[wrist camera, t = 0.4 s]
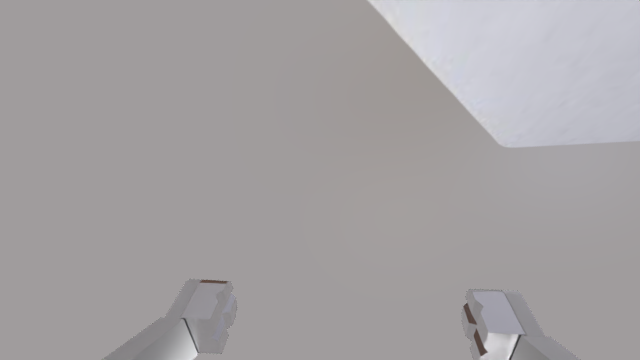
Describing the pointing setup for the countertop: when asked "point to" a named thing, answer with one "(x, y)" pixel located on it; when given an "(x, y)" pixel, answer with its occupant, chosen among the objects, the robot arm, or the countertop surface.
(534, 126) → the countertop surface
